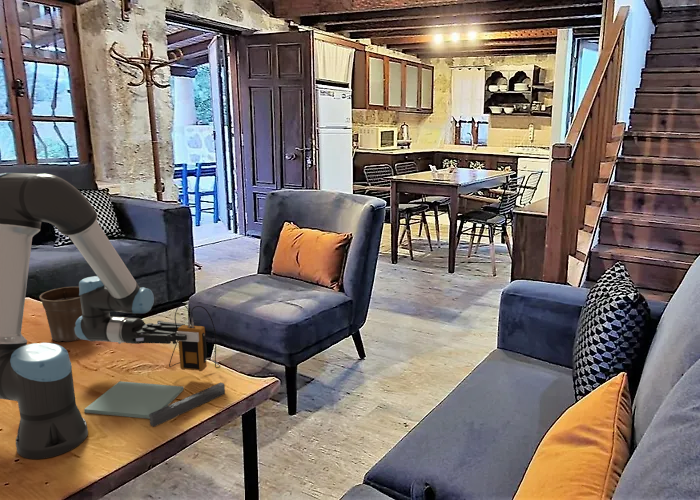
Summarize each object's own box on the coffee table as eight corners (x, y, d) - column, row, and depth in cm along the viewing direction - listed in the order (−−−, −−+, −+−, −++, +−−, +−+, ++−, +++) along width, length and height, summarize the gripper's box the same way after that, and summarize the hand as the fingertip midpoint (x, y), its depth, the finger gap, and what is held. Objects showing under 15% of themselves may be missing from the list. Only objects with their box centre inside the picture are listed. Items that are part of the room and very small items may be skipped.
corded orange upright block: (228, 359, 168) (225, 297, 164) (214, 373, 159) (211, 307, 154) (184, 355, 171) (180, 294, 166) (168, 368, 161) (163, 304, 157)
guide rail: (153, 427, 136) (152, 416, 136) (150, 424, 137) (149, 414, 137) (225, 393, 153) (224, 384, 152) (221, 392, 154) (220, 382, 153)
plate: (154, 419, 140) (154, 415, 140) (84, 412, 144) (84, 409, 143) (183, 389, 155) (183, 386, 155) (119, 384, 159) (119, 381, 159)
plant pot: (105, 333, 197) (100, 291, 194) (61, 348, 184) (55, 303, 181) (80, 324, 206) (75, 283, 203) (36, 338, 193) (30, 295, 190)
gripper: (142, 332, 171) (213, 337, 167) (112, 352, 156) (189, 358, 152) (140, 309, 169) (211, 314, 165) (110, 327, 154) (187, 332, 150)
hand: (200, 335), depth 158 cm, fingers closed on corded orange upright block, 3 cm apart
